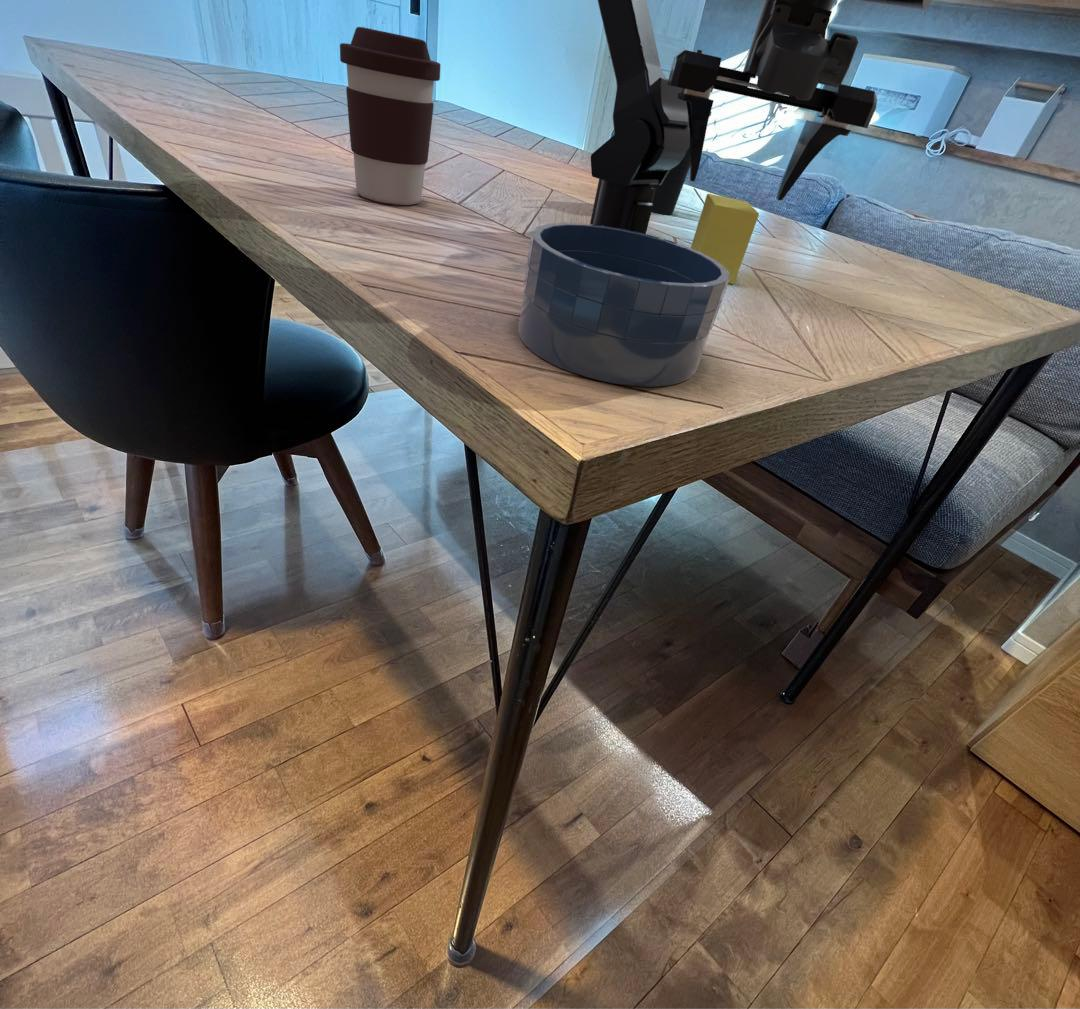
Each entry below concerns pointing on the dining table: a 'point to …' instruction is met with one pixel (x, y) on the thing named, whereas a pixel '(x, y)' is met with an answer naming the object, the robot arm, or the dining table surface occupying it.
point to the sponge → (725, 231)
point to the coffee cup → (389, 113)
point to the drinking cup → (671, 185)
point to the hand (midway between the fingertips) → (735, 190)
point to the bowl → (618, 303)
